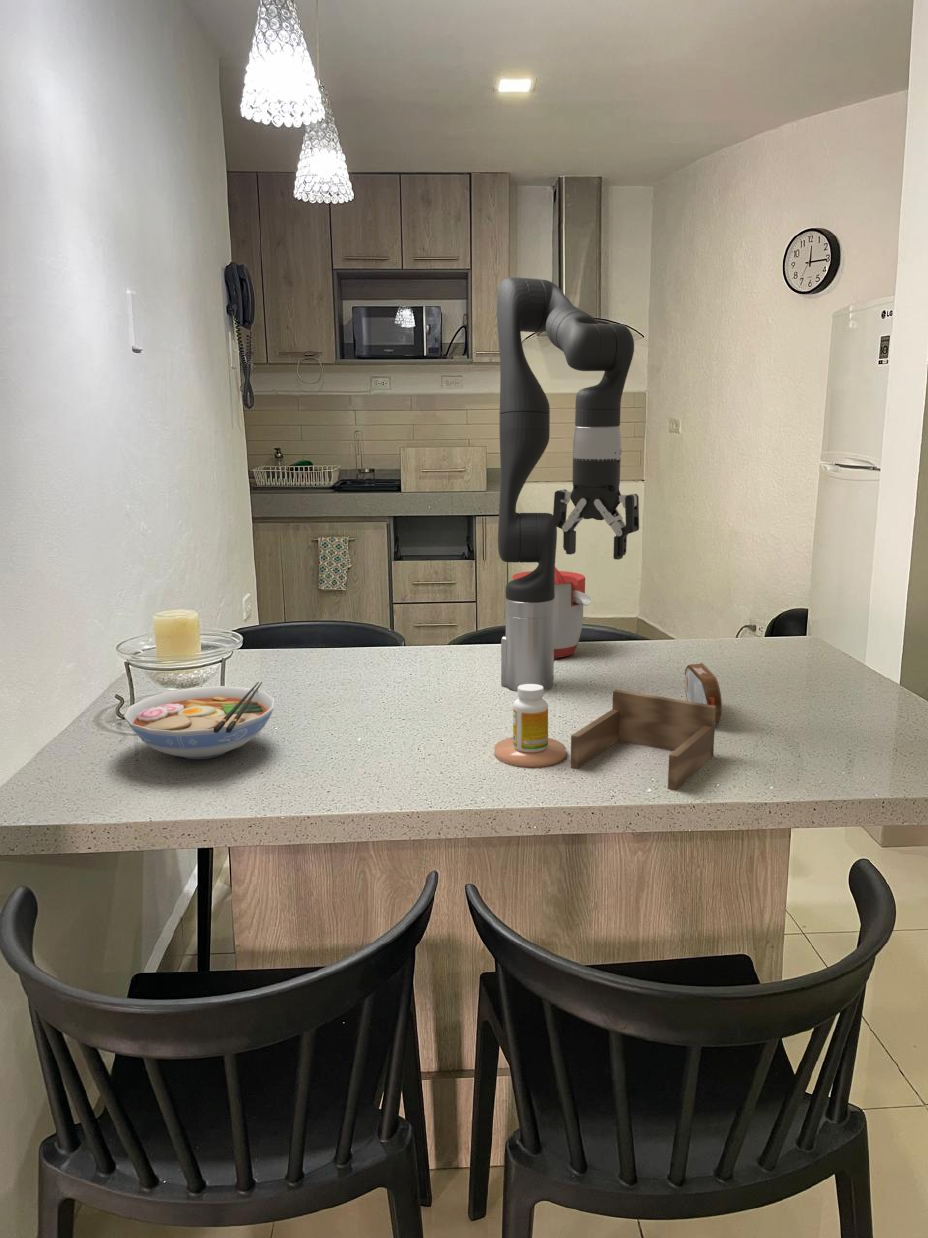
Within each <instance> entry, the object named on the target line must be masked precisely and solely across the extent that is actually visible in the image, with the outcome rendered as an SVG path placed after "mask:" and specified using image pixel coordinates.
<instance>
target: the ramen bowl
mask: <svg viewBox="0 0 928 1238" xmlns="http://www.w3.org/2000/svg"><path fill="white" fill-rule="evenodd" d="M262 684H263V682H262V681H261V682H259V681H258V682H256V684H255V685H254V686H253V687H252V688H250V687H242V686H229V685H228V686H225V685H216V686H215V685H213V686H201V687H200V686H198V687H197V686H195V687H190V688H184V689H178V690H170V691H165V692H162V693H159V694H155V695H151V696H148V697H145V698H143V699H141V700H139V701H136V702H135V703H134V704H132V705H129V706H128V707H127V709H126V711H125V713H124V714H123V718H124V719H125V720H126V721H125V722H126V723H127V724H128V725H129V727H130V728H131V729H132V730H133V731H134V733H135V734H136V735H137V737H139V738H140V739H141V741H142V742H144V743H145V744H146V745H147V746H148V747H149V748H152V749H154V750H155V751H158V752H161V753H164V754H167V755H170V756H174V757H182V758H185V759H188V760H207V759H213V758H216V757H220V756H223V755H224V754H226V753H227V752H230V751H232V750H235V749H237V748H240V747H242V746H244V745H245V744H246V743H248V742H250V741H251V740H252V739H253V738H255V737H256V736H257V735H259V733H260V732H262V730H263V728H265V726H266V724H267V723H268V721H269V719H270V718H271V715H272V713H273V711H274V708H275V698H274V697H273V696H271V695H270V694H268V693H267V692H266V691H263V690H259V688H260V687H261V685H262ZM257 685H258V686H257Z"/></svg>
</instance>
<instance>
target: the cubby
mask: <svg viewBox="0 0 928 1238" xmlns="http://www.w3.org/2000/svg"><path fill="white" fill-rule="evenodd" d="M715 714H716V706H713V705H707V704H701V703H695V702H689V701H687V700H683V699H676V698H671V697H665V696H664V697H663V696H659V695H653V694H645V693H640V692H633V691H628V690H622V689H618V688H617V689H614V690H612V709H610V710H609V711H607V712H606V713H604V714H603V715H601V716H599V717H598V718H596V719H595V720H593V721H591V722H590V723H589V724H587V725H585V726H584V727H581V729H579V730H577V731H576V732H574V733H573V734H571V735H570V768H573V769H580V768H581V767H583V766H584V765H585V764H587V763H588V762H590V761H591V760H593V759H594V758H595V757H597V756H598V755H599V754H601V753H602V752H604V751H605V750H607V749H608V748H610V747H611V746H612V745H614V744H615V743H617V742H618V741H621V742H626V743H631V744H637V745H642V746H646V747H652V748H656V749H657V748H658V749H661V750H663V749H664V750H668V751H672V752H670V753H669V755H668V773H667V774H668V775H667V776H668V777H667V789H669V790H673V791H677V790H678V789H679V788H680V787H681V786H682V785H684V783H685V782H687V781H688V780H689V779H690V777H692V776H694V774H695V773H697V771H699V769H701V768H702V767H703V766H704V765H705V764H706V763H708V761H709V760H710V759H711V758H713V757H714V749H715V730H716V723H715Z"/></svg>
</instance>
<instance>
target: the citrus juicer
mask: <svg viewBox="0 0 928 1238" xmlns="http://www.w3.org/2000/svg"><path fill="white" fill-rule="evenodd" d="M532 571H533V570H531V571H530V570H529V571H524V572H523V571H522V572H518V573H516V574H513V575H512V577H511V578H512V580H515V579H518V578H521V577H523V576H526V575H528V574H529V573H531V572H532ZM554 586H555V607H554V660H558V659H559V658H563V657H564V658H565V657H568V656H571V655H573V654H575V651H576V649H577V647H578V645H579V640H580V638H581V633H582V630H583V623H584V622H583V620H584V606H585V607H587V606H589V605H591V603H592V599H591V597H590V595H588V594H586V576H585V575H584V574H581V573H577V572H573V571H565V570H564V571H563V570H559V569H558V568H557V567H556V566H555V585H554Z"/></svg>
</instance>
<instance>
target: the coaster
mask: <svg viewBox="0 0 928 1238" xmlns="http://www.w3.org/2000/svg"><path fill="white" fill-rule="evenodd" d="M566 751H567V748H566V745H565V744H564V743H562V742H561V741H559V740H557V739H554V738H551V737H548V747H547V749H545V750H544V751H541V752H535V753H528V752H521V751H518V750H516V749H515V748H514V746H513V736H512V737H507V738H504V739H502V740H500V741H498V742H497V743H496V744H495V745H494V757H495V758H496V759H497V760H498V761H500V762H502V763H504V764H507V765H511V766H514V767H519V768H520V767H522V768H542V767H549V766H553V765H556V764H558V763H561V762H563V760H565V759H566V755H567V752H566Z"/></svg>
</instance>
